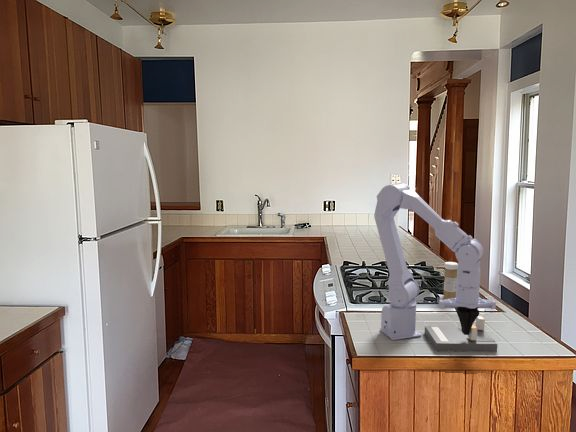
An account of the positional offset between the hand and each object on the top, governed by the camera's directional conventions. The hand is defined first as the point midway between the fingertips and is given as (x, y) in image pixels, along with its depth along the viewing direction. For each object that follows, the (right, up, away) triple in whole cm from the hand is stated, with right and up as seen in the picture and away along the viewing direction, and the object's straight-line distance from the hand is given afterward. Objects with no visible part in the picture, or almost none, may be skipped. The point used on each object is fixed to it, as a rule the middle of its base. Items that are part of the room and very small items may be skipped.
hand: (465, 333), depth 121 cm
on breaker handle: (+7, 0, +7) cm, 10 cm away
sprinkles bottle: (+10, +2, +40) cm, 41 cm away
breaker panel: (0, -4, +4) cm, 5 cm away
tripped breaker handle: (+2, -1, 0) cm, 2 cm away
